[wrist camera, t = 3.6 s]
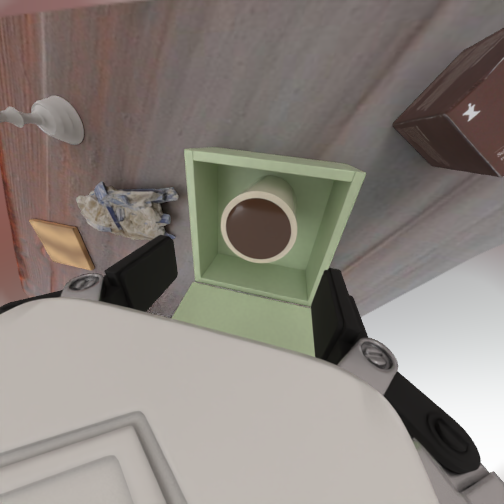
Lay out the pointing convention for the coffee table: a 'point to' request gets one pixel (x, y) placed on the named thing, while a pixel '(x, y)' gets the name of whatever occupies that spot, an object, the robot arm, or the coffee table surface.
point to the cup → (261, 220)
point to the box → (462, 112)
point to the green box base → (308, 219)
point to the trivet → (63, 243)
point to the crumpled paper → (127, 211)
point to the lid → (248, 317)
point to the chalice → (50, 119)
